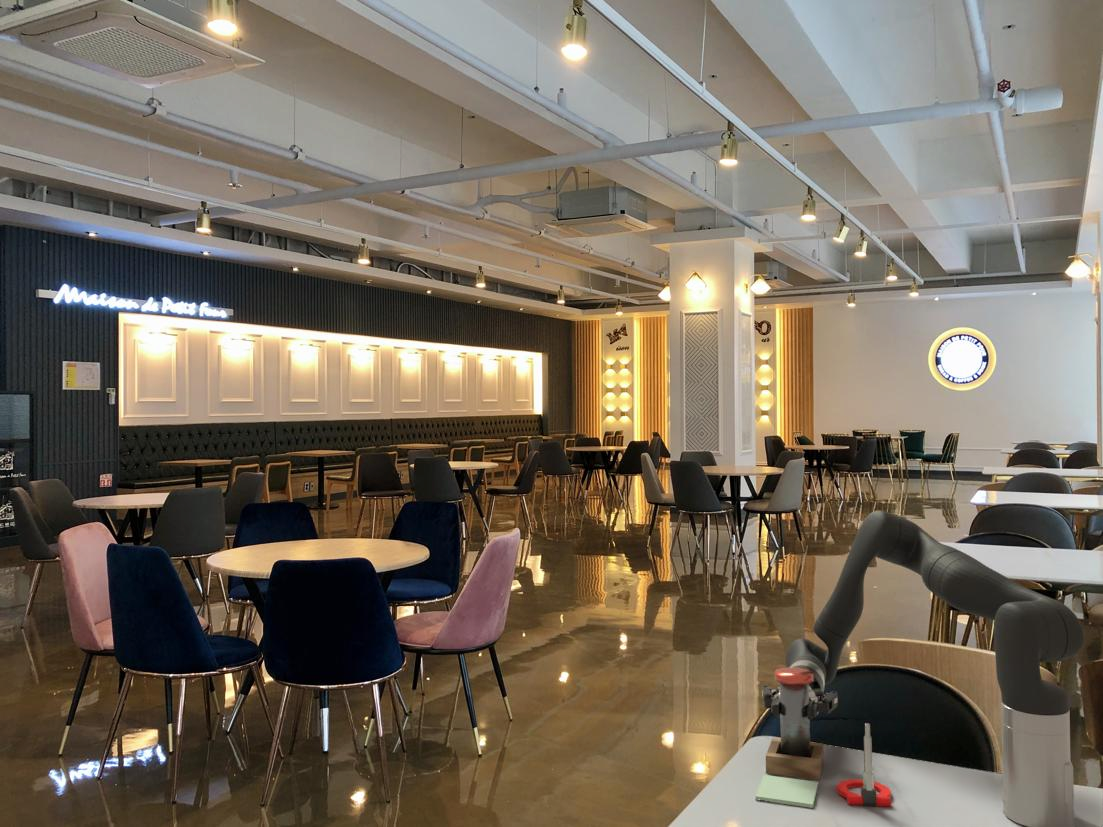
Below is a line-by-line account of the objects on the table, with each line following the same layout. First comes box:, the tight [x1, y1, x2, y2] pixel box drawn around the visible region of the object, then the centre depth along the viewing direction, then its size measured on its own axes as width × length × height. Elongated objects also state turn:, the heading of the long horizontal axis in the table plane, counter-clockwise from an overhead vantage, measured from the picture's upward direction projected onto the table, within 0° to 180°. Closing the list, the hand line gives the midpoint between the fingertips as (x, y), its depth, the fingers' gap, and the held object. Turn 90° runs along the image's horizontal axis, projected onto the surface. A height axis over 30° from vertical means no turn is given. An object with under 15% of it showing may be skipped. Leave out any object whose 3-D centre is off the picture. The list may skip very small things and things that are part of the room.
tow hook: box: [836, 722, 892, 807], centre depth 147 cm, size 8×13×9 cm
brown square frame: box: [765, 737, 825, 781], centre depth 159 cm, size 9×9×3 cm
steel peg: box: [774, 667, 813, 758], centre depth 158 cm, size 7×7×15 cm
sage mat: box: [755, 774, 819, 809], centre depth 148 cm, size 9×9×1 cm
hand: (793, 712), depth 156 cm, fingers closed on steel peg, 5 cm apart
